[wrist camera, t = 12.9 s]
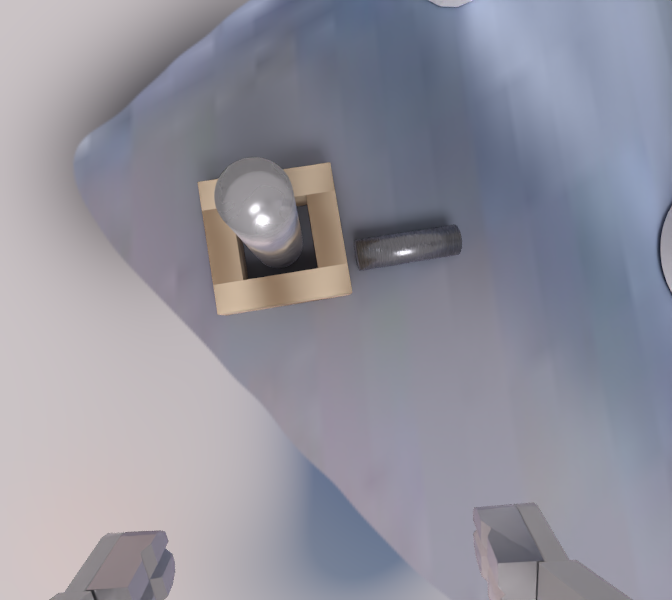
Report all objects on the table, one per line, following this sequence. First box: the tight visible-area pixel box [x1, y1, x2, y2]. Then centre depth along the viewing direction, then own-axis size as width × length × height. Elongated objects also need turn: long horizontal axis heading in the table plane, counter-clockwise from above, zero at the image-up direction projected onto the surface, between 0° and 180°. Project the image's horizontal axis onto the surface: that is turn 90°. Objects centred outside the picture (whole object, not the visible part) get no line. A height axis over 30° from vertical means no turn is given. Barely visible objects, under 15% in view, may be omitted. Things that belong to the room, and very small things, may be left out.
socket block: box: [198, 162, 352, 315], centre depth 31 cm, size 10×10×2 cm
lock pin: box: [354, 225, 462, 271], centre depth 32 cm, size 8×2×2 cm
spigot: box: [214, 157, 303, 268], centre depth 26 cm, size 4×4×12 cm
